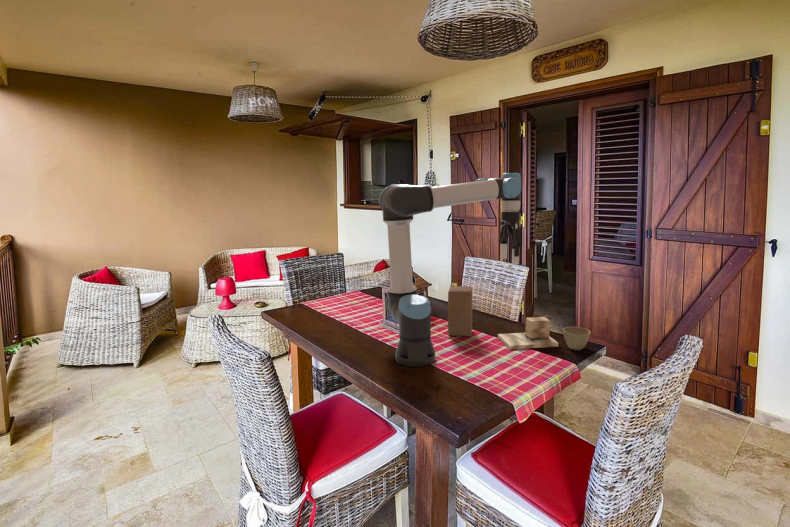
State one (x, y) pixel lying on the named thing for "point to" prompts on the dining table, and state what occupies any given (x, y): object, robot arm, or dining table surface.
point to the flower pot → (576, 337)
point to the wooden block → (460, 311)
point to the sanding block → (537, 328)
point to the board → (525, 341)
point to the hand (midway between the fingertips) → (509, 261)
